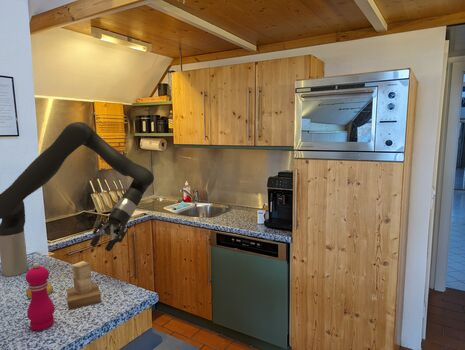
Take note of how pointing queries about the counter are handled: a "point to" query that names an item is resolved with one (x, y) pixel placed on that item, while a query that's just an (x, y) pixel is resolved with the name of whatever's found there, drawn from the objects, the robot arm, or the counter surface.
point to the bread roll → (49, 290)
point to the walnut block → (83, 297)
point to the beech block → (82, 277)
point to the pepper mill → (39, 298)
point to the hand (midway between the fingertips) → (99, 248)
